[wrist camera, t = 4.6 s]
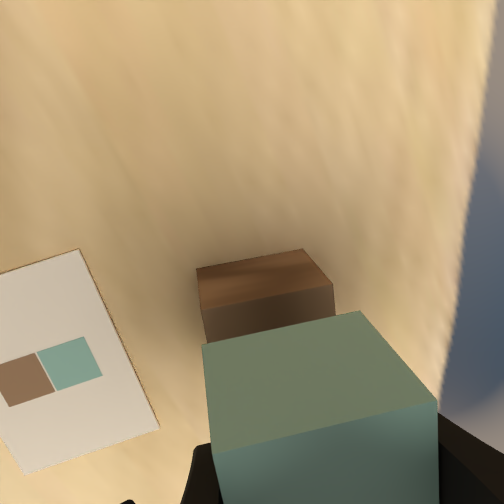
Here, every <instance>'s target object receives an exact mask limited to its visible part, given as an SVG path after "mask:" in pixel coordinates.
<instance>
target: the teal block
mask: <svg viewBox="0 0 504 504" xmlns="http://www.w3.org/2000/svg"><path fill="white" fill-rule="evenodd" d="M202 355H203V365H204V376H205V386H206V397H207V407H208V417H209V428H210V438H211V449H212V456H213V460H214V465H215V469H216V473H217V478H218V482H219V486H220V490H221V495H222V499H223V503H224V504H439V469H438V412H437V399H436V398H435V397H434V396H433V395H432V393H431V392H430V391H429V390H428V389H427V388H426V387H425V385H424V384H423V383H422V382H421V381H420V380H419V378H418V377H417V376H416V375H415V374H414V373H413V371H412V370H411V369H410V368H409V367H408V366H407V365H406V363H405V362H404V361H403V360H402V359H401V358H400V356H399V355H398V354H397V353H396V352H395V351H394V350H393V348H392V347H391V346H390V345H389V344H388V343H387V341H386V340H385V339H384V338H383V337H382V336H381V334H380V333H379V332H378V331H377V330H376V329H375V328H374V326H373V325H372V324H371V323H370V322H369V321H368V319H367V318H366V317H365V316H364V315H363V314H362V313H361V311H355V312H350V313H346V314H341V315H336V316H332V317H327V318H323V319H318V320H313V321H309V322H304V323H300V324H295V325H290V326H286V327H281V328H277V329H272V330H267V331H263V332H258V333H254V334H249V335H244V336H240V337H235V338H230V339H226V340H221V341H217V342H212V343H207V344H203V345H202Z"/></svg>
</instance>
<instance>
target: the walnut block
mask: <svg viewBox="0 0 504 504" xmlns="http://www.w3.org/2000/svg"><path fill="white" fill-rule="evenodd" d="M196 270H197V279H198V288H199V298H200V307H201V313H202V318H203V323H204V328H205V333H206V338H207V343H212V342H217V341H221V340H226V339H230V338H235V337H240V336H244V335H249V334H254V333H258V332H263V331H267V330H272V329H277V328H281V327H286V326H290V325H295V324H300V323H304V322H309V321H313V320H318V319H323V318H327V317H332V316H336V314H335V303H334V292H333V284H332V283H331V281H330V280H329V279H328V278H327V277H326V276H325V274H324V273H323V272H322V271H321V270H320V268H319V267H318V266H317V265H316V264H315V263H314V261H313V260H312V259H311V258H310V257H309V256H308V254H307V253H306V252H305V251H304V250H303V249H299V250H294V251H288V252H283V253H277V254H272V255H267V256H261V257H256V258H251V259H245V260H240V261H235V262H229V263H224V264H219V265H213V266H208V267H203V268H197V269H196Z"/></svg>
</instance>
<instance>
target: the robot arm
mask: <svg viewBox="0 0 504 504" xmlns="http://www.w3.org/2000/svg"><path fill="white" fill-rule="evenodd" d="M438 469H439V504H504V454H503V453H501V452H499V451H498V450H496V449H494V448H492V447H491V446H489V445H487V444H485V443H484V442H482V441H481V440H479V439H478V438H476V437H474V436H473V435H471V434H470V433H468V432H466V431H465V430H463V429H462V428H460V427H459V426H457V425H456V424H454V423H453V422H451V421H450V420H448V419H447V418H445V417H444V416H442V415H441V414H439V413H438ZM180 504H224V503H223V499H222V495H221V490H220V486H219V482H218V478H217V473H216V469H215V465H214V460H213V456H212V449H211V443H207V444H203V445H198V446H196V448H195V449H194V451H193V458H192V463H191V468H190V472H189V476H188V480H187V484H186V487H185V491H184V494H183V497H182V500H181V503H180Z"/></svg>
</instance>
